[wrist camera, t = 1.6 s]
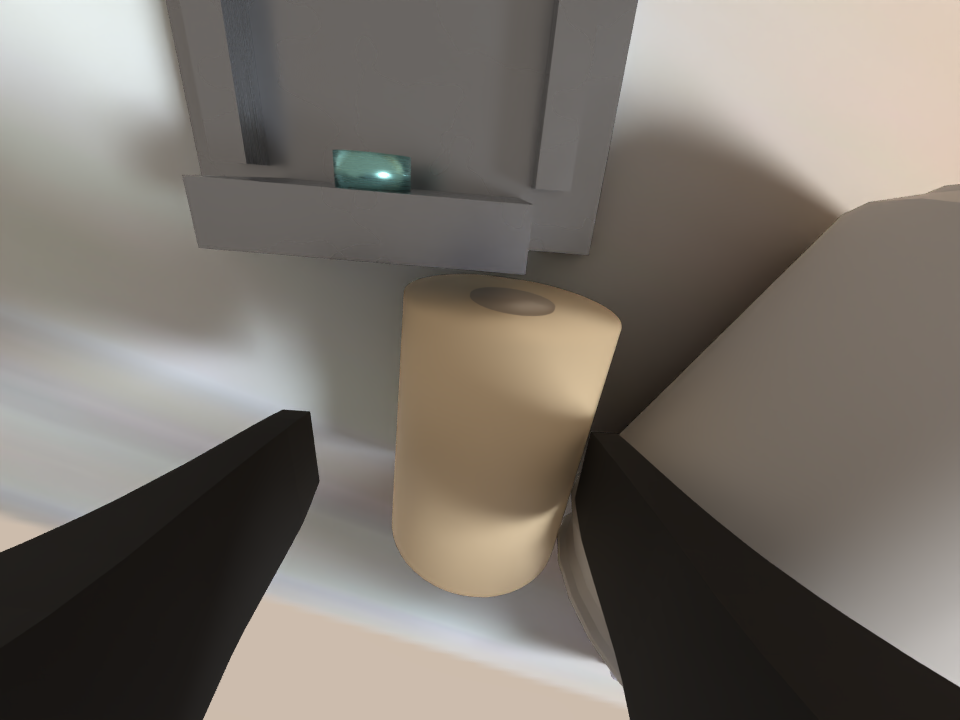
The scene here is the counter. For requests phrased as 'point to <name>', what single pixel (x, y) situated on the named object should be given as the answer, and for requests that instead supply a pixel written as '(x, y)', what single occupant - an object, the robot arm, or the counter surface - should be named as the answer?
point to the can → (830, 430)
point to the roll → (492, 424)
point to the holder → (401, 126)
